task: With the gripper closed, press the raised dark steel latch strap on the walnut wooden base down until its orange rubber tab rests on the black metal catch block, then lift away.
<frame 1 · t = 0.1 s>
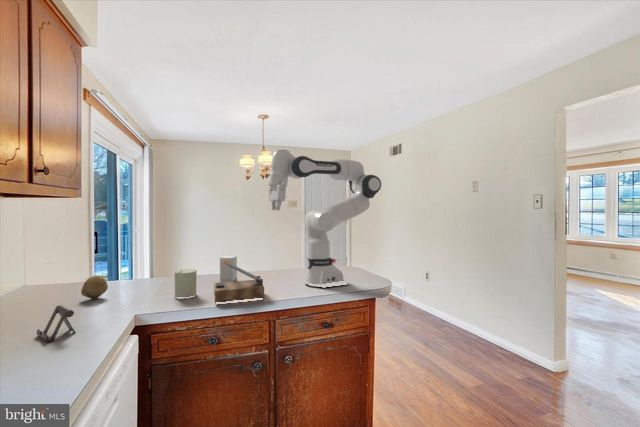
hand: (275, 210, 154), 39 cm above the counter, tool pointing down, fingers open, 8 cm apart
skincare box: (228, 288, 154), on the counter
can: (185, 297, 139), on the counter
portable electronic device stand: (57, 336, 97), on the counter
natural sponge: (95, 299, 134), on the counter
latch strap: (242, 271, 137), point 12 cm above the counter, hinge at 30.0°
latch base: (238, 298, 137), on the counter
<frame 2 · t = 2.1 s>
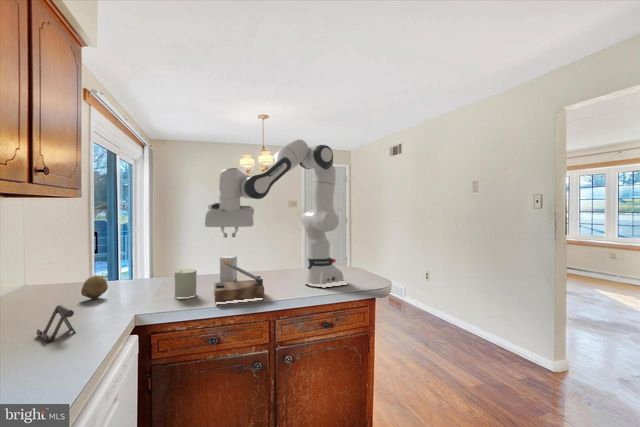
hand: (229, 237, 135), 27 cm above the counter, tool pointing down, fingers closed
nothing on the counter moved.
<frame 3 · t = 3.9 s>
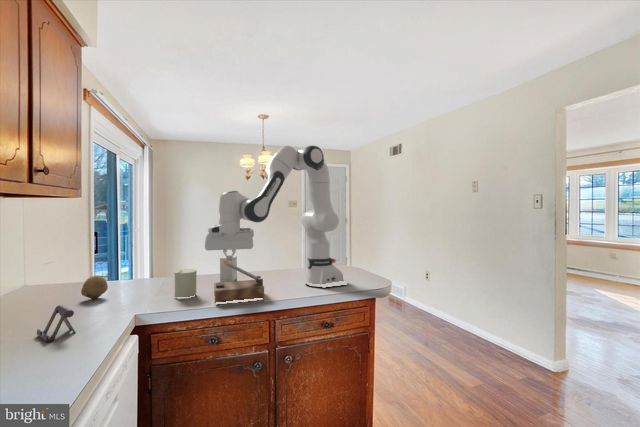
hand: (229, 259, 135), 17 cm above the counter, tool pointing down, fingers closed
latch strap: (242, 271, 137), point 12 cm above the counter, hinge at 30.0°, touching gripper
everything else where it was.
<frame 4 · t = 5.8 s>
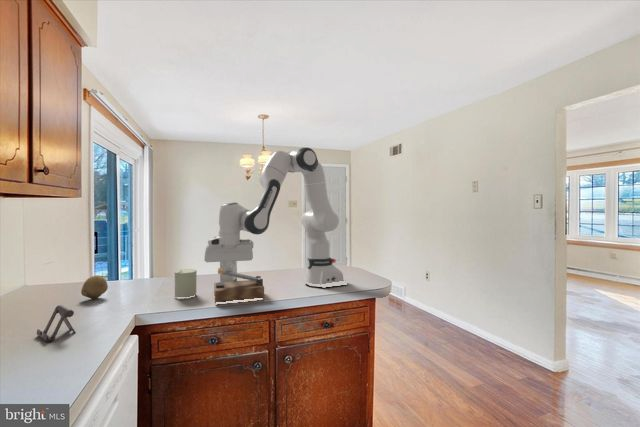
hand: (228, 271, 135), 12 cm above the counter, tool pointing down, fingers closed
latch strap: (240, 275, 137), point 10 cm above the counter, hinge at 15.8°, touching gripper
everything else where it was.
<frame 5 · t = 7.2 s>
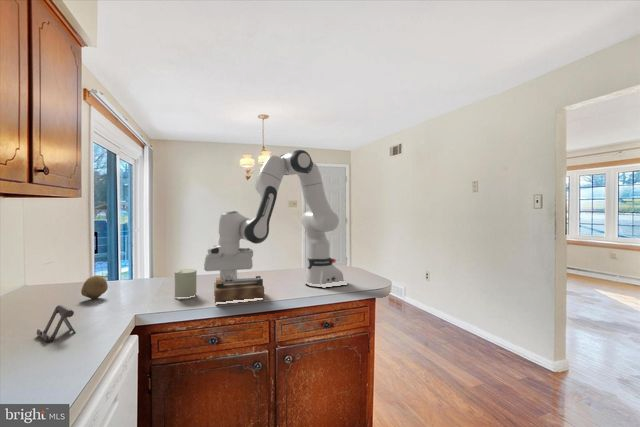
hand: (228, 280, 135), 8 cm above the counter, tool pointing down, fingers closed, pressing on latch strap
latch strap: (239, 280, 137), point 8 cm above the counter, hinge at 1.5°, touching gripper
everything else where it was.
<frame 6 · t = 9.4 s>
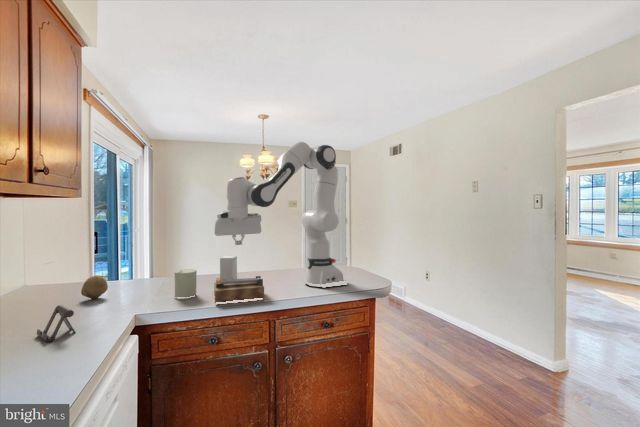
hand: (238, 244, 139), 23 cm above the counter, tool pointing down, fingers closed
latch strap: (239, 280, 137), point 8 cm above the counter, hinge at 1.4°
everything else where it was.
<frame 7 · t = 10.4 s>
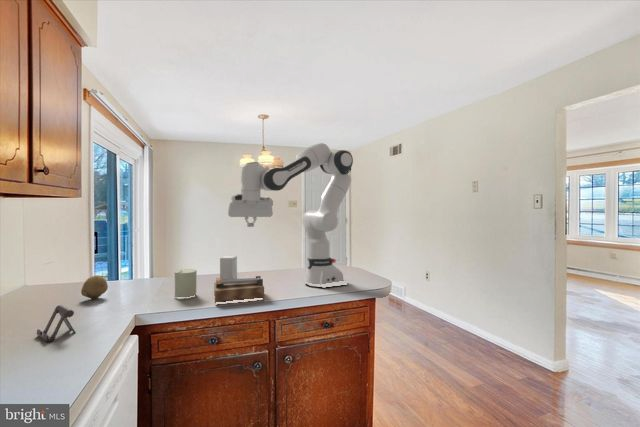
hand: (250, 226, 145), 31 cm above the counter, tool pointing down, fingers closed
nothing on the counter moved.
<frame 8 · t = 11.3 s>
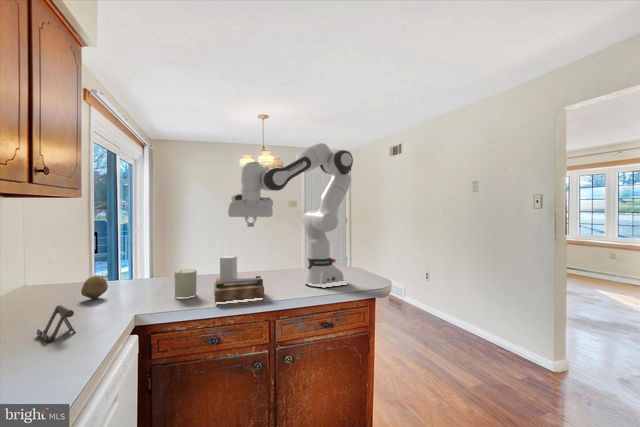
hand: (250, 226, 145), 31 cm above the counter, tool pointing down, fingers closed
nothing on the counter moved.
at the end: latch strap at +1° (first picture: +30°); skincare box moved 0.2 cm from its start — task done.
